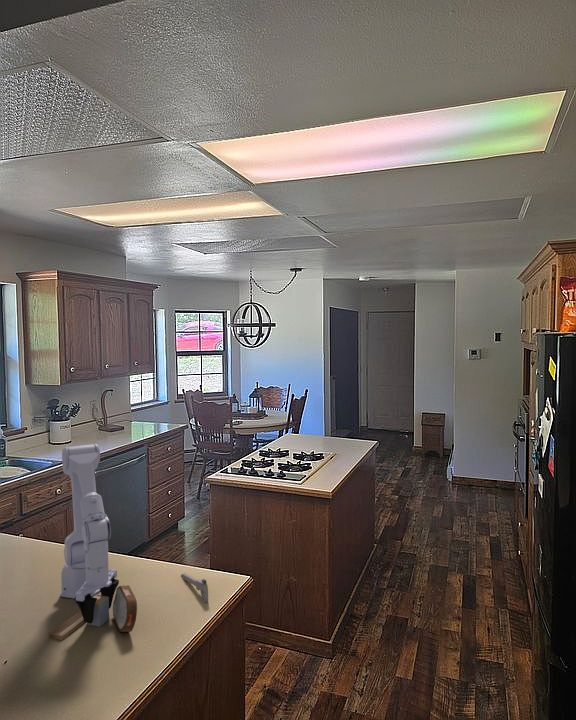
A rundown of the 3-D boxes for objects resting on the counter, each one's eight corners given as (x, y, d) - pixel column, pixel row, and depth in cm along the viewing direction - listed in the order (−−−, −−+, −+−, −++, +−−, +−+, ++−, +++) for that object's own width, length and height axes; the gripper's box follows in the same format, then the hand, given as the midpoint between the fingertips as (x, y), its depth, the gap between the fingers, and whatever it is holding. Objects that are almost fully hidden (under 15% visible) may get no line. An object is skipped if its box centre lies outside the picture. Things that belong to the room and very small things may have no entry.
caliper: (208, 603, 149) (208, 581, 148) (204, 604, 148) (204, 582, 148) (183, 575, 166) (183, 556, 166) (180, 576, 165) (180, 557, 165)
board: (49, 637, 131) (48, 633, 131) (85, 609, 144) (85, 606, 144) (62, 640, 130) (62, 635, 130) (98, 612, 143) (98, 608, 143)
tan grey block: (86, 624, 137) (86, 601, 137) (96, 616, 141) (96, 594, 141) (99, 626, 136) (99, 604, 136) (109, 618, 140) (109, 596, 140)
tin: (131, 638, 131) (141, 604, 132) (119, 637, 129) (129, 603, 130) (119, 611, 144) (128, 580, 145) (108, 610, 142) (117, 579, 143)
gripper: (91, 578, 130) (92, 631, 130) (126, 555, 144) (126, 603, 144) (68, 575, 132) (69, 627, 132) (104, 552, 146) (105, 600, 146)
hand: (97, 614), depth 139 cm, fingers open, 7 cm apart
